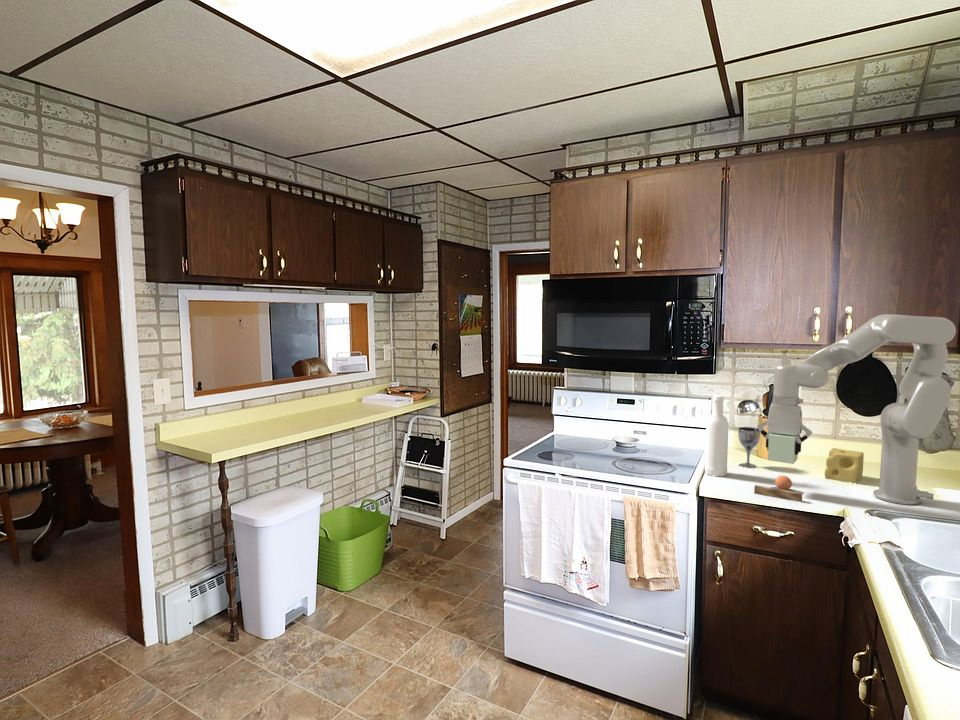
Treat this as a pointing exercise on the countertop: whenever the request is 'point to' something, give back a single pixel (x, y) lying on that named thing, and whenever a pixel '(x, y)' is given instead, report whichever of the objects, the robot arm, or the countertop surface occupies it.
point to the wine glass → (748, 442)
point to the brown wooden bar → (778, 493)
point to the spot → (787, 490)
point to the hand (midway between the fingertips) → (782, 451)
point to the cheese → (844, 465)
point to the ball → (783, 482)
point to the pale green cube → (782, 448)
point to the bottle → (716, 440)
